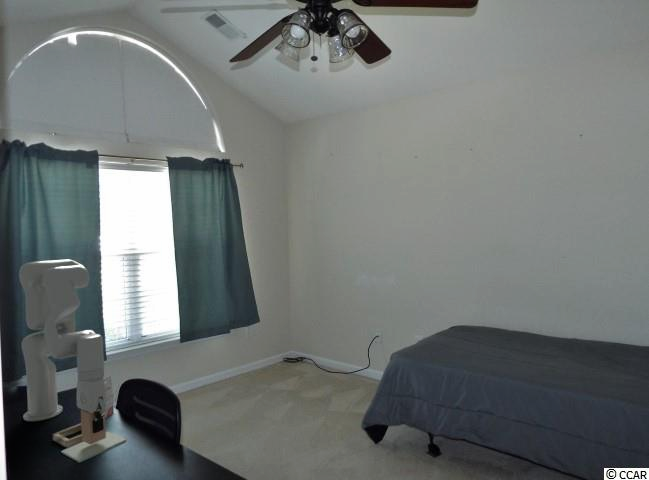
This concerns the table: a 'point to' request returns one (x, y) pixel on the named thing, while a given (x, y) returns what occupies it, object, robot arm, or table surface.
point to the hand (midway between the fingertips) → (93, 428)
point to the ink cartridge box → (109, 396)
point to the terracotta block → (91, 428)
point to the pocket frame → (61, 436)
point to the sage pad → (92, 447)
